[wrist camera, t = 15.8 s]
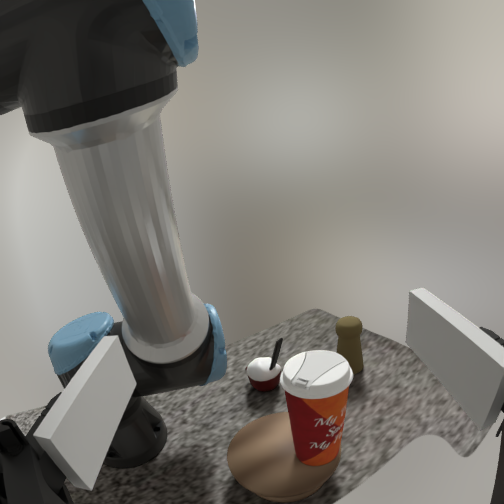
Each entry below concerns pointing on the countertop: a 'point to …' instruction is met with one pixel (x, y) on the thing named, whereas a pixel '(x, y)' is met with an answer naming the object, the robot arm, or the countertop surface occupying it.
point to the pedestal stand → (274, 461)
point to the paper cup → (316, 403)
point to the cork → (350, 342)
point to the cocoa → (265, 371)
